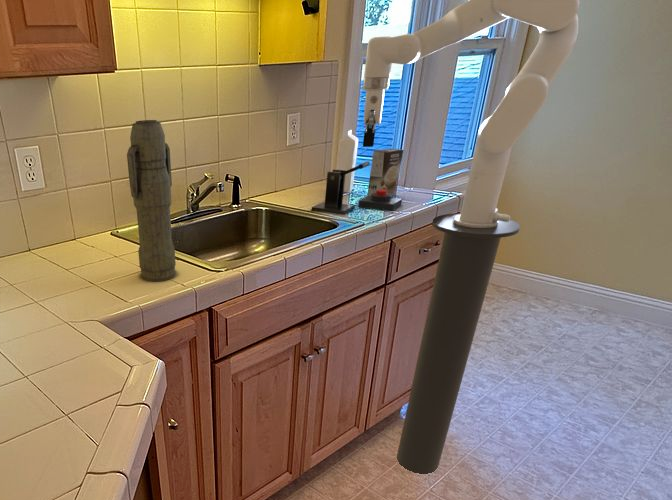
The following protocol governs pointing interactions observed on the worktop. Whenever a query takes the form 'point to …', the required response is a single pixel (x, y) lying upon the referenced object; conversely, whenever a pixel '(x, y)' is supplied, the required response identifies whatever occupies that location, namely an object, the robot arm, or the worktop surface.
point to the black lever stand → (334, 195)
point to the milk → (347, 158)
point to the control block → (380, 202)
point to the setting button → (381, 192)
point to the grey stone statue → (152, 199)
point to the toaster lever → (355, 168)
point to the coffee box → (385, 171)
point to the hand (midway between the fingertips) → (368, 144)
